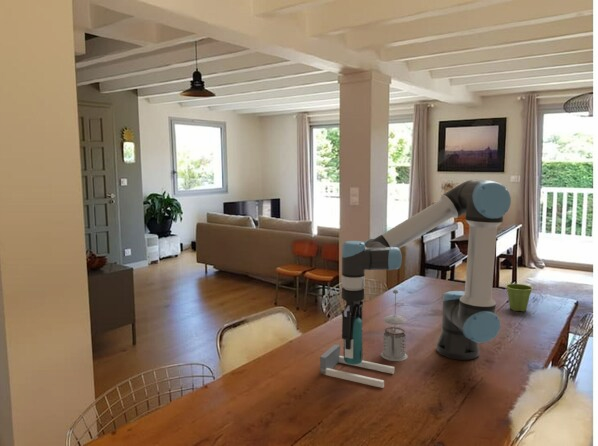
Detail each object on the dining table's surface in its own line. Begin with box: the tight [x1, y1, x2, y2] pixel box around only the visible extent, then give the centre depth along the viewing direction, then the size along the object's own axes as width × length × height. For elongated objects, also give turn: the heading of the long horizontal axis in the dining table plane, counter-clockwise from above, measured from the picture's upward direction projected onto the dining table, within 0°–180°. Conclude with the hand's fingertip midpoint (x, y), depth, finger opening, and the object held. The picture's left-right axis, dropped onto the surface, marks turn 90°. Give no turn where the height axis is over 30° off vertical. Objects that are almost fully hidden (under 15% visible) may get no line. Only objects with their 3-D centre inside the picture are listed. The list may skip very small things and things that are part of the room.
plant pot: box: [505, 283, 534, 312], centre depth 225 cm, size 12×12×11 cm
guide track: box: [319, 343, 395, 389], centre depth 158 cm, size 22×12×6 cm, turn 62°
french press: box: [380, 289, 408, 362], centre depth 170 cm, size 10×12×25 cm
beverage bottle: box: [342, 309, 364, 365], centre depth 158 cm, size 6×7×20 cm
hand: (352, 354), depth 159 cm, fingers closed on beverage bottle, 5 cm apart
